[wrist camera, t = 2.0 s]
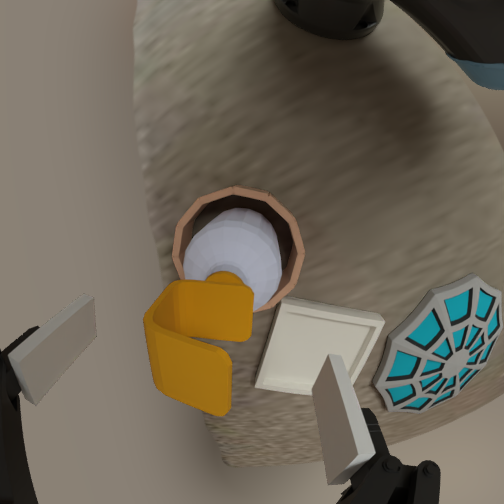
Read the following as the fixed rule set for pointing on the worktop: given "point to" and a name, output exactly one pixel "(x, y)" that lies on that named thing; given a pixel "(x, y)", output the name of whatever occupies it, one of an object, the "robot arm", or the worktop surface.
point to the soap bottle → (212, 308)
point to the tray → (314, 343)
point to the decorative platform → (440, 345)
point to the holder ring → (297, 251)
